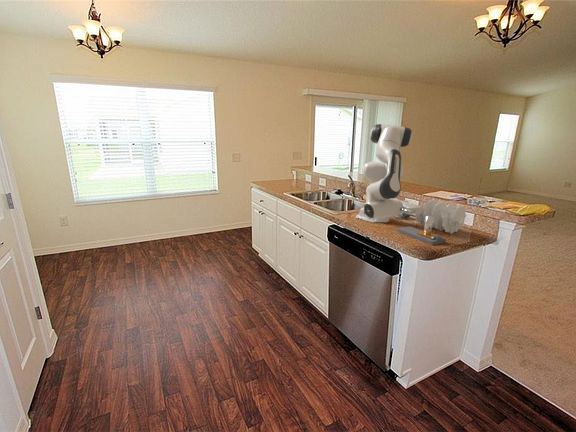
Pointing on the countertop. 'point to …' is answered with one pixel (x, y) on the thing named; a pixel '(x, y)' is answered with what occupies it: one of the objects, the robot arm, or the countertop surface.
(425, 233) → the metal post on plate
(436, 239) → the hook
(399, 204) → the robot arm
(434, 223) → the spiral staircase
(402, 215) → the ceramic mug
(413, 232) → the board
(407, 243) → the countertop surface
